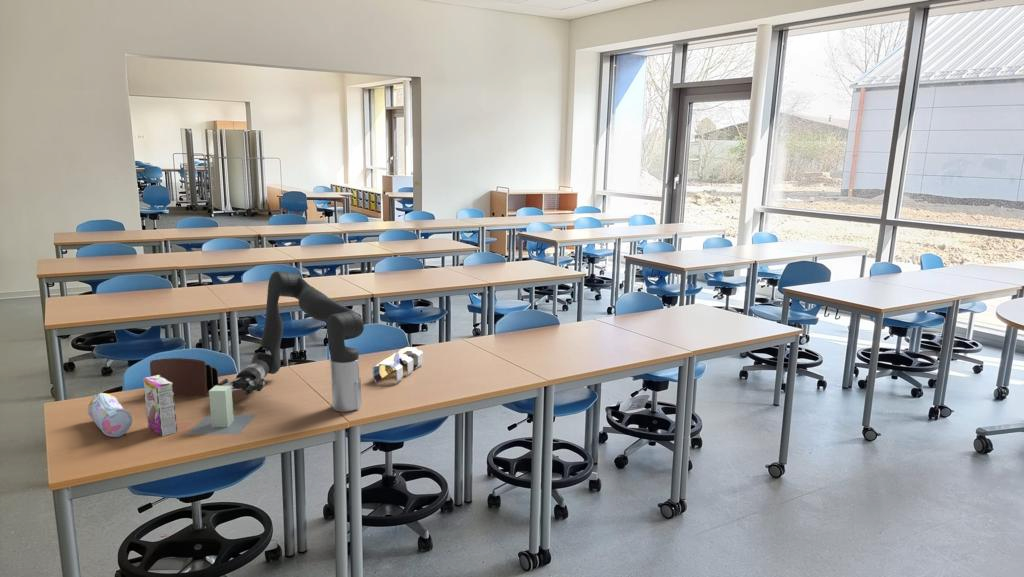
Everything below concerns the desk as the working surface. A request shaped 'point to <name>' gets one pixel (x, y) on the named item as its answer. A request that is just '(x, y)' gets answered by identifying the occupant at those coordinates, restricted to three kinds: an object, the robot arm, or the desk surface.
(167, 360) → the letter holder
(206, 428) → the gray tile
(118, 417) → the pencil case
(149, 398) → the candy bar box
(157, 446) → the desk surface
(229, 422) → the green block
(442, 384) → the desk surface
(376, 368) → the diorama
